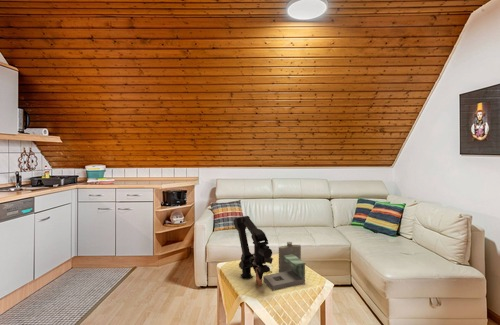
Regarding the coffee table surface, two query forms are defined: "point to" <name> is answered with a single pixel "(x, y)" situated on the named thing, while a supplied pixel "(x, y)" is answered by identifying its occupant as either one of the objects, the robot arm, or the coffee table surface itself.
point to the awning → (296, 265)
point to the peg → (258, 281)
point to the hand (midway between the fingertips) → (259, 277)
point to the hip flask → (288, 251)
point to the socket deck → (283, 280)
